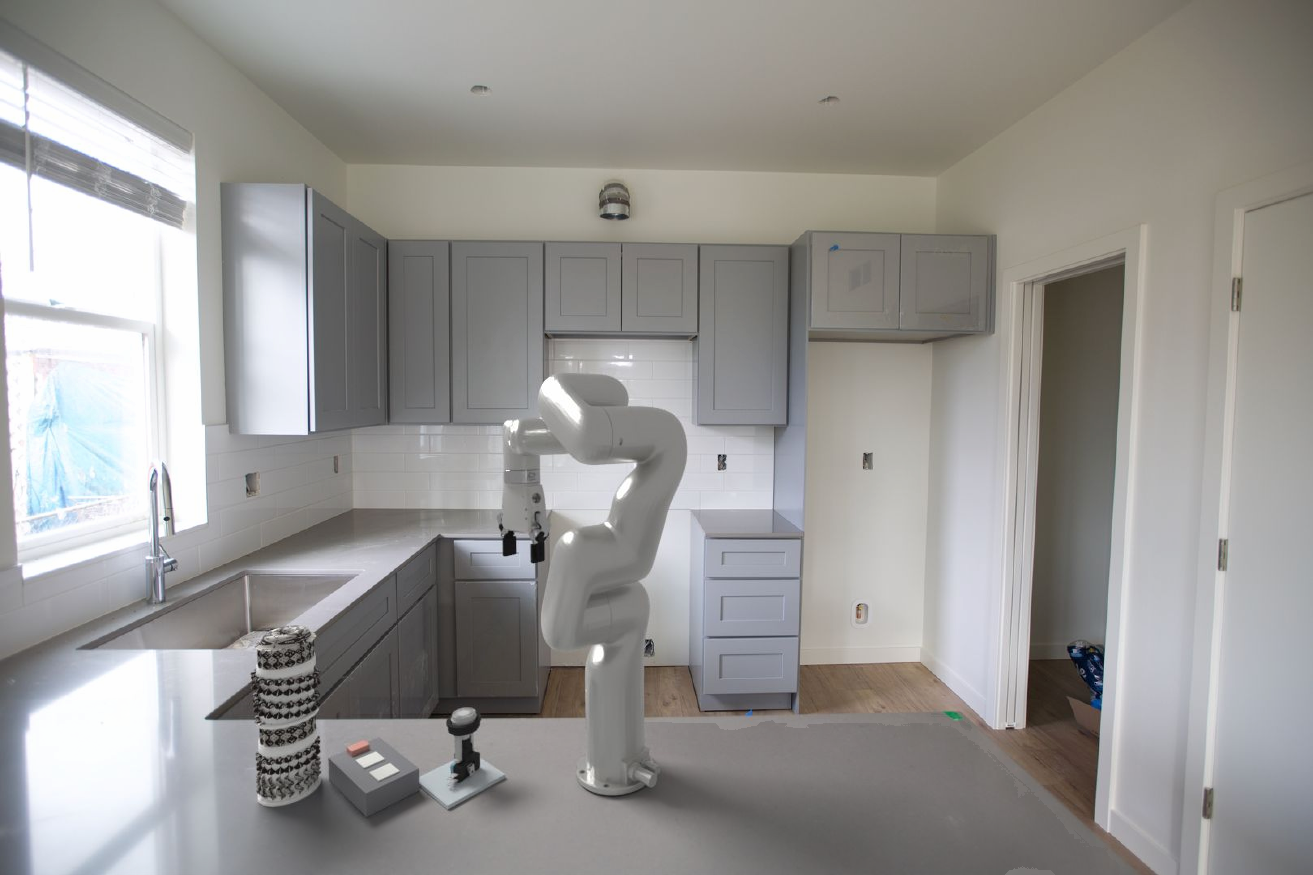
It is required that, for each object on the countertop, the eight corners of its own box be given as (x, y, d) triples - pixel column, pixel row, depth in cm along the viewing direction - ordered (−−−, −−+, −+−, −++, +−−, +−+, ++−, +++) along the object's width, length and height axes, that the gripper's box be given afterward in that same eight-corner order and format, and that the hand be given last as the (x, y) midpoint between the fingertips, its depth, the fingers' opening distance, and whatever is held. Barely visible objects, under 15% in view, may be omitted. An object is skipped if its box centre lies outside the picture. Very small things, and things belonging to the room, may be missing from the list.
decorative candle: (239, 800, 88) (234, 637, 88) (296, 766, 97) (292, 617, 96) (281, 814, 85) (276, 645, 84) (336, 778, 94) (333, 624, 93)
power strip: (420, 789, 90) (420, 762, 90) (366, 817, 84) (365, 788, 84) (380, 756, 100) (380, 731, 99) (328, 779, 93) (328, 752, 93)
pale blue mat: (505, 777, 93) (505, 774, 93) (447, 809, 86) (447, 805, 86) (471, 754, 100) (471, 751, 100) (414, 782, 92) (414, 778, 92)
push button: (462, 792, 89) (461, 727, 88) (434, 785, 91) (432, 722, 90) (489, 768, 95) (487, 707, 95) (462, 761, 97) (461, 702, 97)
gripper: (562, 478, 119) (563, 561, 120) (512, 474, 131) (513, 549, 131) (532, 481, 114) (534, 568, 114) (483, 476, 125) (484, 555, 126)
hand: (523, 558), depth 123 cm, fingers open, 9 cm apart
